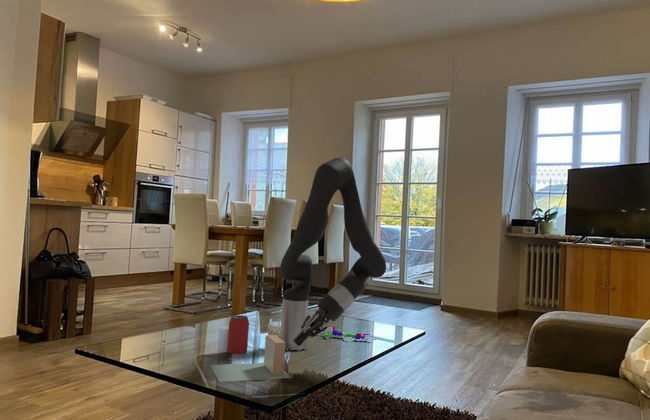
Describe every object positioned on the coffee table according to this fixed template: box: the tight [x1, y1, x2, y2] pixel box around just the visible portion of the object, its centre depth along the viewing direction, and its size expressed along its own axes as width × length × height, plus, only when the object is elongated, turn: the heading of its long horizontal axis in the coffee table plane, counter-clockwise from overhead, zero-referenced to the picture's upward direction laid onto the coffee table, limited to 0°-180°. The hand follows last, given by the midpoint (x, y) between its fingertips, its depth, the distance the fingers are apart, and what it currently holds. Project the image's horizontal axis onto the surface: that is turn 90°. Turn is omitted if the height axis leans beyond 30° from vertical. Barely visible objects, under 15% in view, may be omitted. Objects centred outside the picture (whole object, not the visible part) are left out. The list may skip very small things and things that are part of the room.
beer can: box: [226, 314, 250, 355], centre depth 156 cm, size 7×7×12 cm
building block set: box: [323, 325, 371, 339], centre depth 195 cm, size 25×20×4 cm
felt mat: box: [209, 362, 293, 383], centre depth 134 cm, size 20×16×1 cm
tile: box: [263, 334, 286, 375], centre depth 137 cm, size 3×10×9 cm, turn 22°
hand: (295, 343), depth 140 cm, fingers closed
